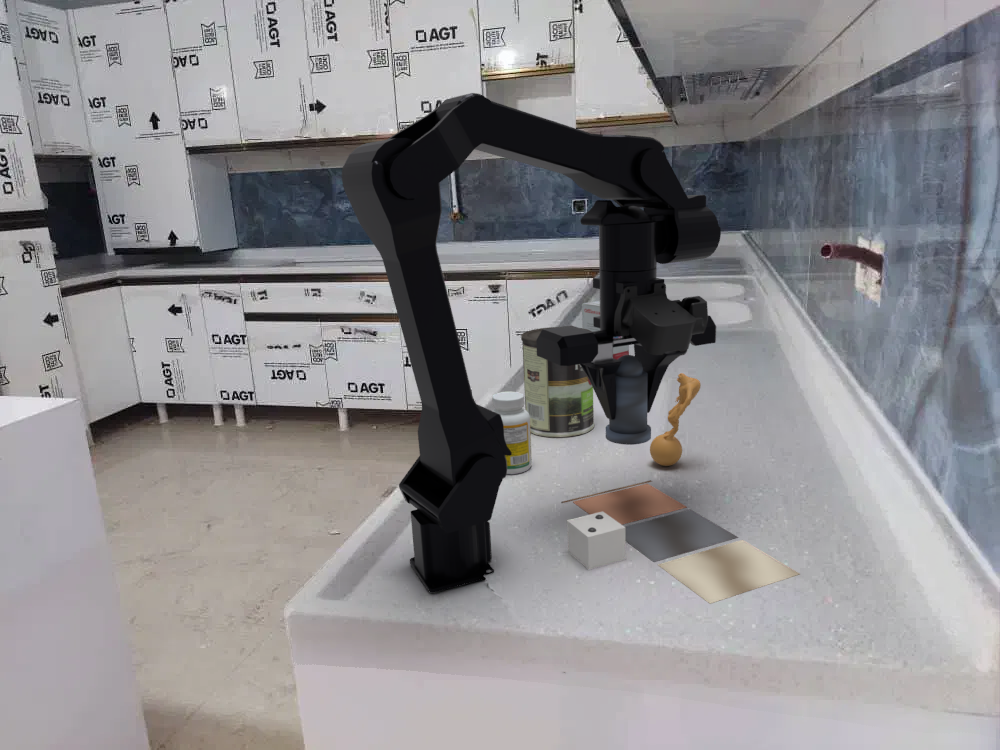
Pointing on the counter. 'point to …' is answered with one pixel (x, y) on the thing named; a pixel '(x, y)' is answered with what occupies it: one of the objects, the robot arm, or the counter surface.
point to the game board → (687, 543)
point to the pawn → (630, 404)
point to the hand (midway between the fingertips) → (628, 415)
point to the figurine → (674, 424)
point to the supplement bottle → (515, 430)
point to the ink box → (587, 323)
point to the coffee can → (555, 394)
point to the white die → (596, 540)
